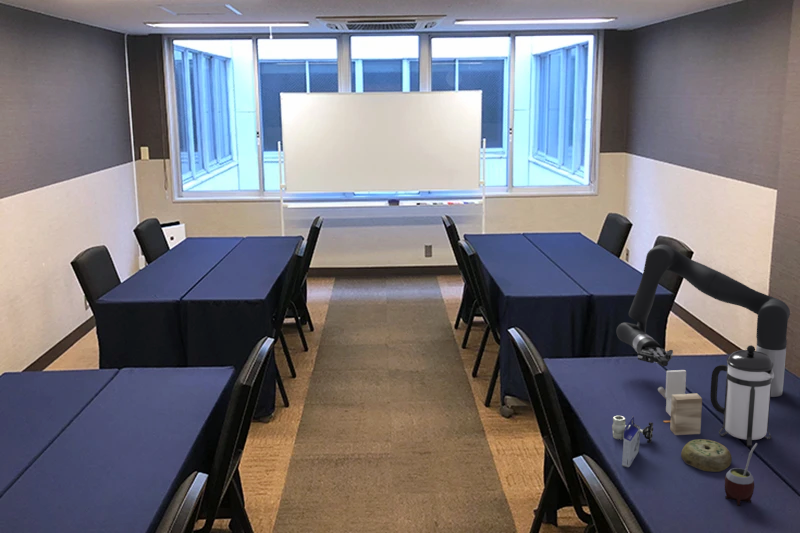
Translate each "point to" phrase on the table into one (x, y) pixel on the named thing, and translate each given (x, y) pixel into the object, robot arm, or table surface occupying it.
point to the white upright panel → (674, 386)
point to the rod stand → (684, 413)
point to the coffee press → (745, 394)
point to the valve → (620, 425)
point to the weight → (706, 455)
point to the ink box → (630, 442)
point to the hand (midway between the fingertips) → (665, 363)
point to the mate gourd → (740, 483)
